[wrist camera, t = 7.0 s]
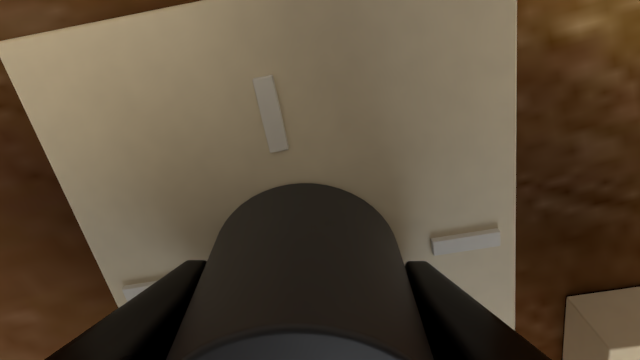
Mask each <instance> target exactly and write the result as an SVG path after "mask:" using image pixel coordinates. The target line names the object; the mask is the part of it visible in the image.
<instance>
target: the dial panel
mask: <svg viewBox="0 0 640 360" xmlns="http://www.w3.org/2000/svg"><path fill="white" fill-rule="evenodd" d="M0 58H1V60H2V62H3V64H4V67H5V69H6V71H7V73H8V75H9V77H10V79H11V81H12V84H13V86H14V88H15V90H16V92H17V94H18V96H19V98H20V100H21V103H22V105H23V107H24V109H25V111H26V113H27V115H28V117H29V120H30V122H31V124H32V126H33V128H34V130H35V132H36V134H37V136H38V139H39V141H40V143H41V145H42V147H43V149H44V151H45V153H46V156H47V158H48V160H49V162H50V164H51V166H52V168H53V170H54V172H55V175H56V177H57V179H58V181H59V183H60V185H61V187H62V189H63V192H64V194H65V196H66V198H67V200H68V202H69V204H70V206H71V208H72V211H73V213H74V215H75V217H76V219H77V221H78V223H79V225H80V227H81V230H82V232H83V234H84V236H85V238H86V240H87V242H88V244H89V247H90V249H91V251H92V253H93V255H94V257H95V259H96V261H97V263H98V266H99V268H100V270H101V272H102V274H103V276H104V278H105V280H106V283H107V285H108V287H109V289H110V291H111V293H112V295H113V297H114V299H115V302H116V304H117V306H118V308H119V307H121V306H122V305H124V304H125V303H126V302H128V301H129V300H131V299H132V298H134V297H135V296H136V295H138V294H139V293H141V292H142V291H144V290H145V289H146V288H148V287H149V286H151V285H152V284H154V283H155V282H157V281H158V280H159V279H161V278H162V277H164V276H165V275H167V274H168V273H169V272H171V271H172V270H174V269H175V268H177V267H178V266H179V265H181V264H182V263H184V262H185V261H187V260H206V261H207V260H208V258H209V255H210V253H211V251H212V248H213V246H214V243H215V241H216V239H217V236H218V234H219V231H220V230H221V228H222V226H223V225H224V223H225V221H226V220H227V219H228V218H229V216H230V215H231V214H232V213H233V212H234V211H235V210H236V209H237V208H238V207H239V206H240V205H241V204H243V203H244V202H246V201H247V200H249V199H250V198H252V197H254V196H255V195H257V194H259V193H261V192H264V191H266V190H269V189H272V188H275V187H279V186H283V185H288V184H297V183H315V184H322V185H328V186H332V187H336V188H340V189H342V190H345V191H347V192H350V193H352V194H354V195H356V196H358V197H359V198H361V199H363V200H364V201H366V202H367V203H368V204H370V205H371V206H373V207H374V208H375V209H376V210H377V211H378V212H379V213H380V214H381V215H382V217H383V218H384V219H385V220H386V222H387V223H388V224H389V226H390V228H391V230H392V231H393V233H394V236H395V238H396V241H397V244H398V247H399V250H400V253H401V256H402V260H403V263H404V266H405V264H406V262H407V261H426V262H428V263H429V264H431V265H432V266H433V267H434V268H436V269H437V270H438V271H440V272H441V273H442V274H443V275H445V276H446V277H447V278H448V279H450V280H451V281H452V282H454V283H455V284H456V285H457V286H459V287H460V288H461V289H462V290H464V291H465V292H466V293H467V294H469V295H470V296H471V297H473V298H474V299H475V300H476V301H478V302H479V303H480V304H481V305H483V306H484V307H485V308H487V309H488V310H489V311H490V312H492V313H493V314H494V315H495V316H497V317H498V318H499V319H501V320H502V321H503V322H504V323H506V324H507V325H508V326H509V327H511V328H512V329H513V330H514V331H515V260H516V102H517V0H201V1H197V2H192V3H187V4H182V5H177V6H172V7H167V8H162V9H157V10H152V11H147V12H142V13H137V14H132V15H127V16H122V17H117V18H112V19H107V20H102V21H97V22H92V23H87V24H82V25H77V26H72V27H67V28H62V29H57V30H53V31H48V32H43V33H38V34H33V35H28V36H23V37H18V38H13V39H8V40H3V41H0Z"/></svg>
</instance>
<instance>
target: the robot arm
mask: <svg viewBox="0 0 640 360" xmlns="http://www.w3.org/2000/svg"><path fill="white" fill-rule="evenodd" d="M206 262H207V261H206V260H187V261H185V262H184V263H182V264H181V265H179V266H178V267H177V268H175V269H174V270H172V271H171V272H169V273H168V274H167V275H165V276H164V277H162V278H161V279H159V280H158V281H157V282H155V283H154V284H152V285H151V286H149V287H148V288H146V289H145V290H144V291H142V292H141V293H139V294H138V295H136V296H135V297H134V298H132V299H131V300H129V301H128V302H126V303H125V304H124V305H122V306H121V307H119V308H118V309H116V310H115V311H114V312H112V313H111V314H109V315H108V316H106V317H105V318H104V319H102V320H101V321H99V322H98V323H96V324H95V325H94V326H92V327H91V328H89V329H88V330H86V331H85V332H83V333H82V334H81V335H79V336H78V337H76V338H75V339H73V340H72V341H71V342H69V343H68V344H66V345H65V346H63V347H62V348H61V349H59V350H58V351H56V352H55V353H53V354H52V355H51V356H49V357H48V358H46V359H45V360H166V358H167V356H168V353H169V351H170V349H171V346H172V344H173V341H174V339H175V337H176V334H177V332H178V330H179V327H180V325H181V322H182V320H183V318H184V315H185V313H186V310H187V308H188V306H189V303H190V301H191V298H192V296H193V294H194V291H195V289H196V286H197V284H198V282H199V279H200V277H201V274H202V272H203V270H204V267H205V265H206ZM405 269H406V272H407V275H408V279H409V282H410V285H411V288H412V291H413V295H414V298H415V301H416V304H417V307H418V310H419V314H420V317H421V320H422V323H423V326H424V330H425V333H426V336H427V339H428V342H429V345H430V349H431V352H432V355H433V358H434V360H551V359H550V358H549V357H548V356H546V355H545V354H544V353H542V352H541V351H540V350H539V349H537V348H536V347H535V346H534V345H532V344H531V343H530V342H528V341H527V340H526V339H525V338H523V337H522V336H521V335H520V334H518V333H517V332H516V331H514V330H513V329H512V328H511V327H509V326H508V325H507V324H506V323H504V322H503V321H502V320H501V319H499V318H498V317H497V316H495V315H494V314H493V313H492V312H490V311H489V310H488V309H487V308H485V307H484V306H483V305H481V304H480V303H479V302H478V301H476V300H475V299H474V298H473V297H471V296H470V295H469V294H467V293H466V292H465V291H464V290H462V289H461V288H460V287H459V286H457V285H456V284H455V283H454V282H452V281H451V280H450V279H448V278H447V277H446V276H445V275H443V274H442V273H441V272H440V271H438V270H437V269H436V268H434V267H433V266H432V265H431V264H429V263H428V262H426V261H407V262H406V264H405Z"/></svg>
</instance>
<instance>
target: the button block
mask: <svg viewBox="0 0 640 360" xmlns="http://www.w3.org/2000/svg"><path fill="white" fill-rule="evenodd" d="M562 360H640V286H639V287H632V288H625V289H618V290H611V291H604V292H597V293H590V294H583V295H576V296H569V297H567V299H566V314H565V329H564V344H563V358H562Z"/></svg>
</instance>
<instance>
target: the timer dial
mask: <svg viewBox="0 0 640 360" xmlns="http://www.w3.org/2000/svg"><path fill="white" fill-rule="evenodd" d="M166 360H434V358H433V355H432V352H431V349H430V345H429V342H428V339H427V336H426V333H425V330H424V326H423V323H422V320H421V317H420V314H419V310H418V307H417V304H416V301H415V298H414V295H413V291H412V288H411V285H410V282H409V279H408V275H407V272H406V269H405V266H404V263H403V260H402V256H401V253H400V250H399V247H398V244H397V241H396V238H395V236H394V233H393V231H392V230H391V228H390V226H389V224H388V223H387V222H386V220H385V219H384V218H383V217H382V215H381V214H380V213H379V212H378V211H377V210H376V209H375V208H374V207H373V206H371V205H370V204H368V203H367V202H366V201H364V200H363V199H361V198H359V197H358V196H356V195H354V194H352V193H350V192H347V191H345V190H342V189H340V188H336V187H332V186H328V185H322V184H315V183H297V184H288V185H283V186H279V187H275V188H272V189H269V190H266V191H264V192H261V193H259V194H257V195H255V196H254V197H252V198H250V199H249V200H247V201H246V202H244V203H243V204H241V205H240V206H239V207H238V208H237V209H236V210H235V211H234V212H233V213H232V214H231V215H230V216H229V218H228V219H227V220H226V221H225V223H224V225H223V226H222V228H221V230H220V231H219V234H218V236H217V239H216V241H215V243H214V246H213V248H212V251H211V253H210V255H209V258H208V260H207V262H206V265H205V267H204V270H203V272H202V274H201V277H200V279H199V282H198V284H197V286H196V289H195V291H194V294H193V296H192V298H191V301H190V303H189V306H188V308H187V310H186V313H185V315H184V318H183V320H182V322H181V325H180V327H179V330H178V332H177V334H176V337H175V339H174V341H173V344H172V346H171V349H170V351H169V353H168V356H167V358H166Z"/></svg>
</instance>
